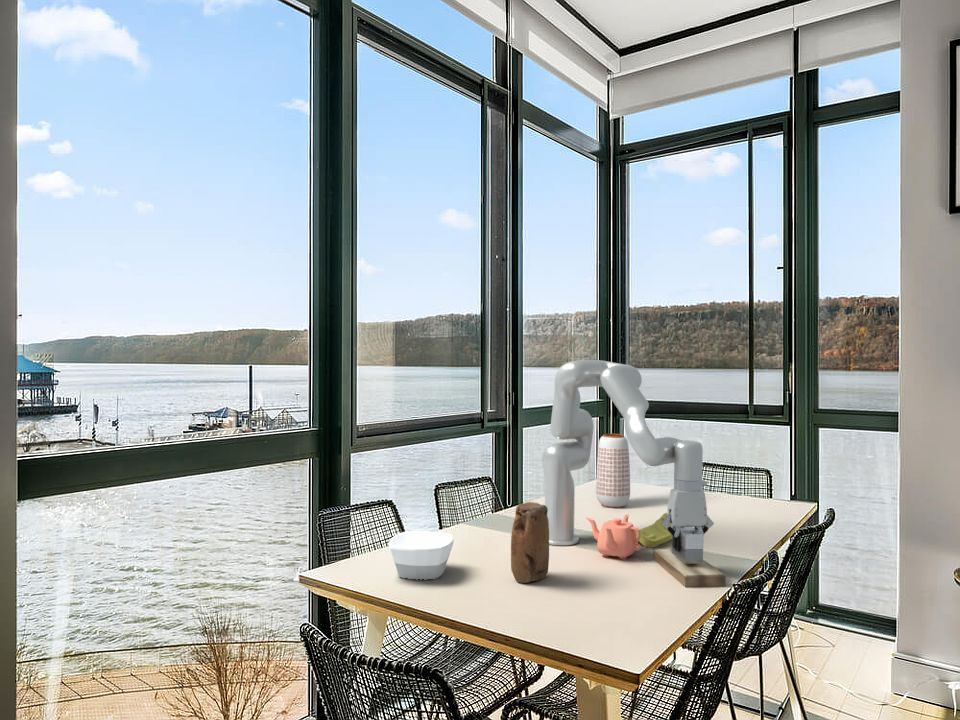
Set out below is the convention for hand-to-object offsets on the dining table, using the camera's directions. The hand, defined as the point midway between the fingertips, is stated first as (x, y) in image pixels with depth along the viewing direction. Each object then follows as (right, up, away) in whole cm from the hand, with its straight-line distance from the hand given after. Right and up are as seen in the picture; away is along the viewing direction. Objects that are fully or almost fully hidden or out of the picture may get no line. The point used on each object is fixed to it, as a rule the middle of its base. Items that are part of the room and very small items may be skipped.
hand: (686, 549), depth 195 cm
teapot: (-18, -6, +16) cm, 25 cm away
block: (-44, -6, -6) cm, 45 cm away
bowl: (-74, -6, -2) cm, 74 cm away
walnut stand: (0, -6, 0) cm, 6 cm away
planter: (-5, -5, +82) cm, 82 cm away
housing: (0, -2, 0) cm, 2 cm away
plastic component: (-1, -6, +32) cm, 33 cm away
